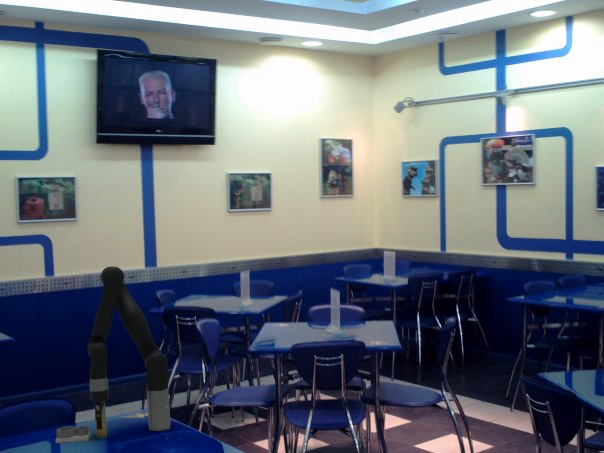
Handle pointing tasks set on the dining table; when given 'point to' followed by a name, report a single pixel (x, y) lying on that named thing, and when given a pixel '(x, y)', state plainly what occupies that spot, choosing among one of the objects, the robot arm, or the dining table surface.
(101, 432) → the brass cylinder
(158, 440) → the dining table surface
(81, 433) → the grey mounting plate
